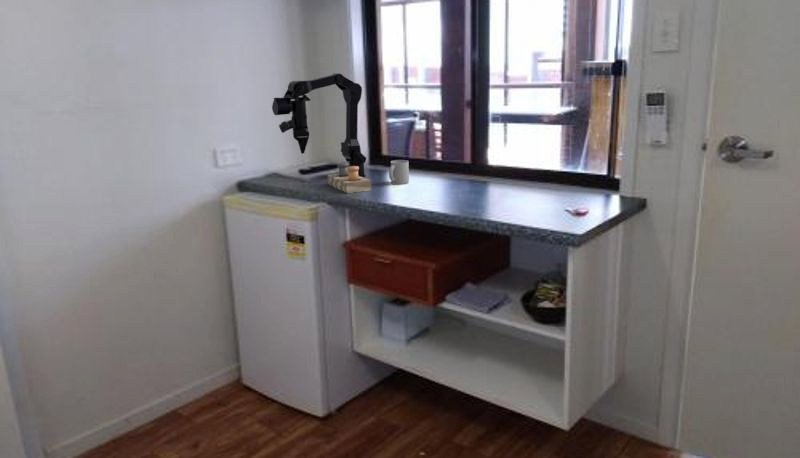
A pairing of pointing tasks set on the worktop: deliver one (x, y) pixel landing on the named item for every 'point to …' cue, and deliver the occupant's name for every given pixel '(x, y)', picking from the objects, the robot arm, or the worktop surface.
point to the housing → (349, 183)
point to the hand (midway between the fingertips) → (302, 151)
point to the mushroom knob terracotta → (353, 173)
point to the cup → (399, 172)
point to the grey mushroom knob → (343, 169)
